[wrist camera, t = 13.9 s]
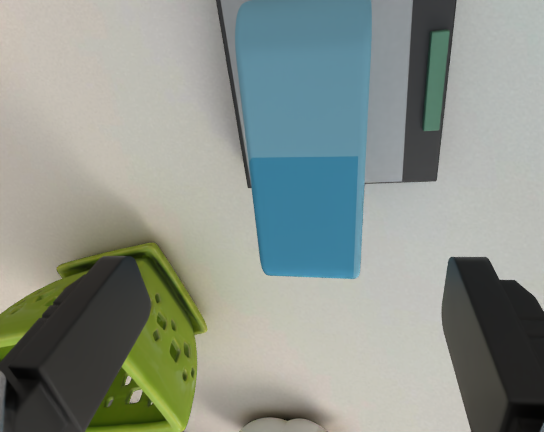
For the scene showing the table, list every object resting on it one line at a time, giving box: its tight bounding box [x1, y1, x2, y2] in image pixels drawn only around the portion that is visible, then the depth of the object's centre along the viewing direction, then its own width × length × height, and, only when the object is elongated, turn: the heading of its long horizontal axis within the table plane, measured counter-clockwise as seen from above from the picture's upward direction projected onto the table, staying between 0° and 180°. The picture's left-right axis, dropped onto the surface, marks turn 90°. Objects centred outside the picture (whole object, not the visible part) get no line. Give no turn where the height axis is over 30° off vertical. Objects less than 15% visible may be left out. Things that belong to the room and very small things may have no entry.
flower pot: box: [0, 243, 207, 432], centre depth 36 cm, size 14×14×13 cm
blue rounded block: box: [235, 0, 372, 279], centre depth 20 cm, size 12×4×12 cm, turn 5°
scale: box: [216, 0, 456, 188], centre depth 26 cm, size 14×14×3 cm
